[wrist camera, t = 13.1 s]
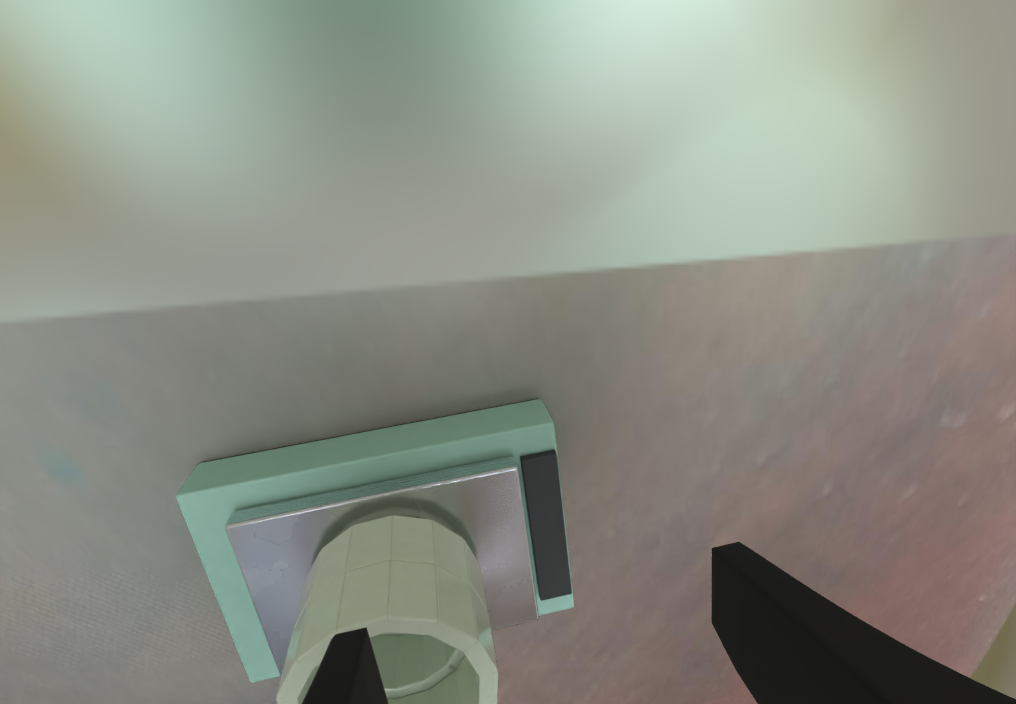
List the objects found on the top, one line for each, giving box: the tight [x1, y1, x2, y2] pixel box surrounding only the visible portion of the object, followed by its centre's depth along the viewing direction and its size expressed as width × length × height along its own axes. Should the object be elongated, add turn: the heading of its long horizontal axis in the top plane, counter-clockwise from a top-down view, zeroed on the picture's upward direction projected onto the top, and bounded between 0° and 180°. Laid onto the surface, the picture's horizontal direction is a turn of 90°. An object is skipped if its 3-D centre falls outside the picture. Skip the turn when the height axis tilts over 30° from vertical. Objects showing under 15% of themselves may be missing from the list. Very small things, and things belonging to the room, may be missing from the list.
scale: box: [176, 399, 574, 683], centre depth 20 cm, size 12×8×2 cm, turn 97°
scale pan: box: [225, 456, 539, 677], centre depth 18 cm, size 9×6×1 cm
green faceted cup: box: [276, 515, 498, 704], centre depth 16 cm, size 5×6×4 cm
